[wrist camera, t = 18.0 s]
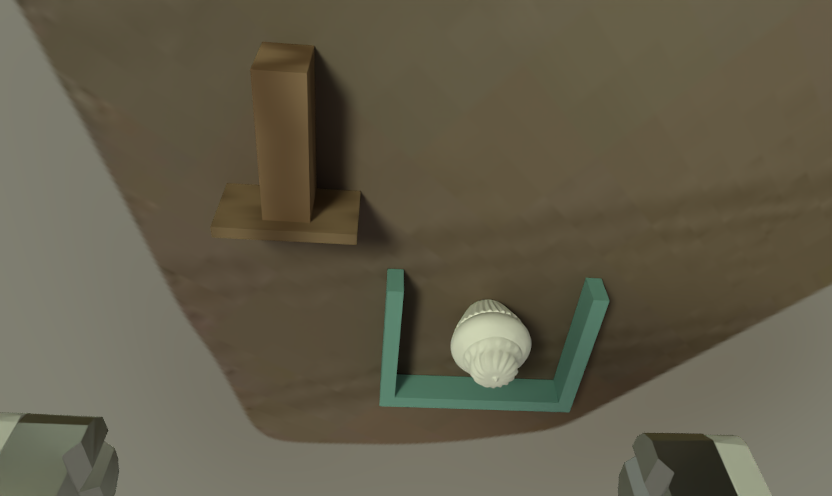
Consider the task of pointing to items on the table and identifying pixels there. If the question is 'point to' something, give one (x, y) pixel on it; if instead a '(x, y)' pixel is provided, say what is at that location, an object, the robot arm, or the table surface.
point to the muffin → (490, 343)
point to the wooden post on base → (286, 161)
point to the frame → (475, 396)
